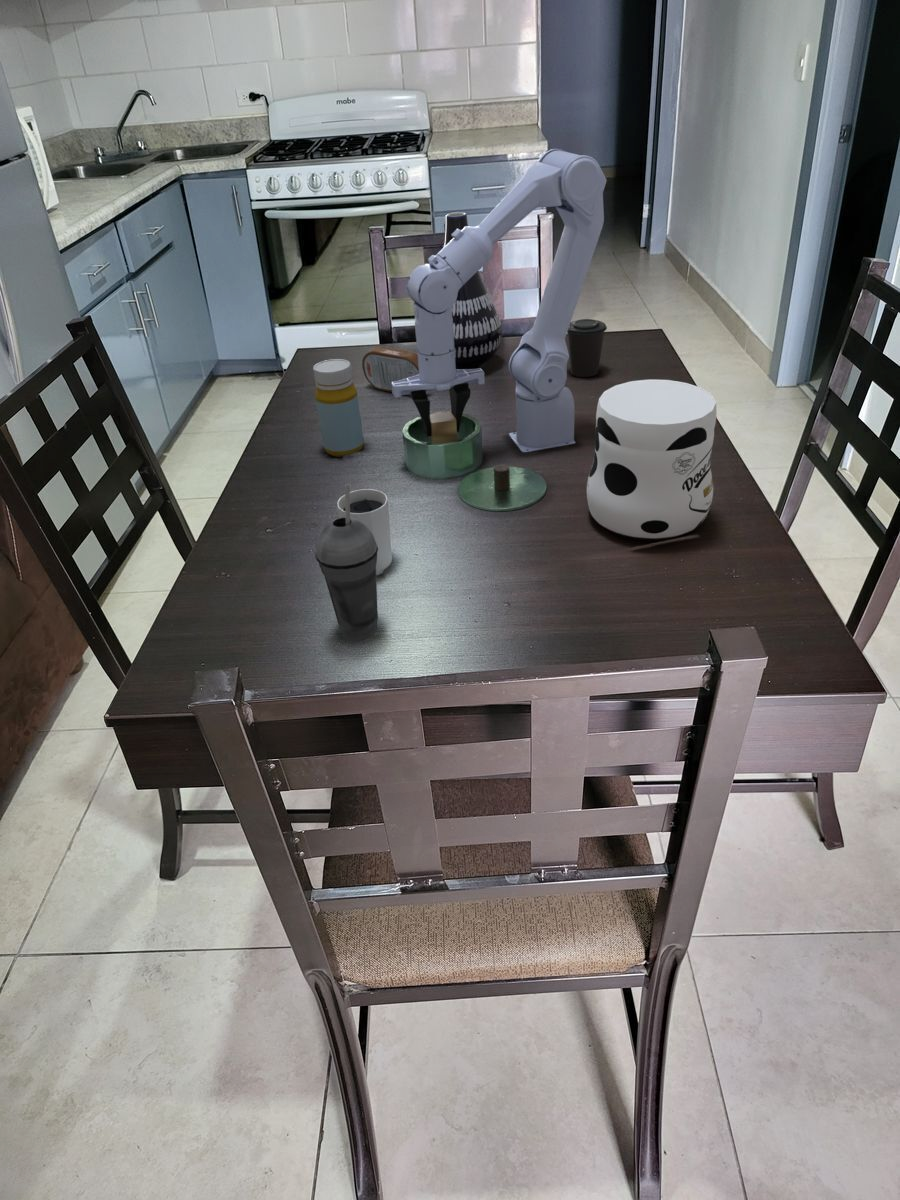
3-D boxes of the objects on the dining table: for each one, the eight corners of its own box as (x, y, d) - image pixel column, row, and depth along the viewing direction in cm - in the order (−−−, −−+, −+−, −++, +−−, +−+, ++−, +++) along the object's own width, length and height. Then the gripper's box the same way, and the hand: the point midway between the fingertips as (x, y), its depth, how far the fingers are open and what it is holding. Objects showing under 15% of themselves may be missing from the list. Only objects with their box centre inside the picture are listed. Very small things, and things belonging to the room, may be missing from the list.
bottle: (358, 458, 142) (345, 373, 133) (319, 457, 143) (304, 373, 135) (369, 440, 148) (358, 358, 139) (331, 439, 149) (318, 357, 140)
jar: (470, 442, 145) (468, 407, 141) (491, 473, 135) (490, 437, 131) (399, 454, 142) (395, 419, 139) (415, 487, 132) (412, 450, 129)
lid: (529, 466, 136) (529, 442, 133) (559, 505, 125) (559, 479, 122) (449, 481, 133) (447, 456, 131) (472, 521, 123) (470, 496, 120)
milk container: (729, 541, 114) (749, 418, 103) (607, 559, 112) (614, 436, 102) (680, 483, 128) (693, 369, 117) (571, 499, 126) (573, 384, 116)
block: (451, 432, 138) (449, 410, 136) (457, 442, 135) (456, 419, 132) (428, 436, 137) (426, 413, 135) (433, 446, 134) (431, 423, 132)
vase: (411, 368, 175) (397, 217, 158) (465, 347, 183) (457, 201, 166) (463, 386, 165) (454, 227, 148) (518, 363, 174) (516, 210, 156)
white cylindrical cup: (341, 559, 117) (330, 496, 111) (385, 547, 119) (377, 484, 113) (355, 583, 112) (345, 518, 106) (402, 570, 113) (394, 505, 108)
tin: (433, 394, 163) (430, 352, 158) (424, 400, 161) (420, 357, 156) (372, 383, 170) (366, 342, 165) (362, 388, 168) (357, 347, 163)
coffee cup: (607, 378, 163) (610, 327, 158) (566, 380, 164) (567, 330, 158) (602, 363, 170) (604, 314, 164) (562, 365, 170) (562, 316, 164)
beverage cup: (331, 615, 106) (304, 474, 94) (388, 609, 106) (369, 468, 95) (329, 651, 100) (301, 505, 88) (389, 645, 100) (369, 499, 89)
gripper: (394, 364, 123) (403, 449, 131) (488, 350, 125) (491, 434, 133) (385, 349, 128) (394, 431, 136) (476, 336, 131) (479, 417, 139)
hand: (441, 431), depth 135 cm, fingers closed on block, 4 cm apart
